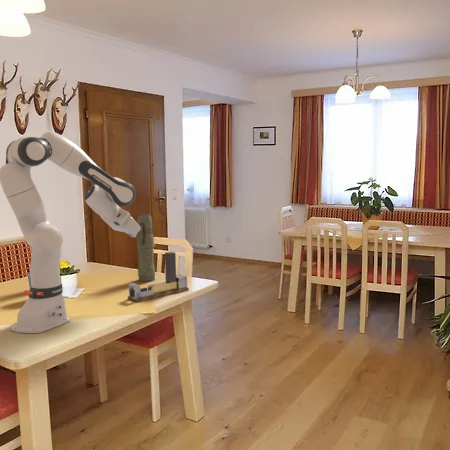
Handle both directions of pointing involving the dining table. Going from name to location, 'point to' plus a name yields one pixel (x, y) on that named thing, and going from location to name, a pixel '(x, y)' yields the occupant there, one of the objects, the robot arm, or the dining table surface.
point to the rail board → (158, 294)
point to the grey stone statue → (145, 249)
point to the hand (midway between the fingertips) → (134, 236)
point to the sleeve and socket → (145, 293)
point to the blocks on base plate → (167, 275)
